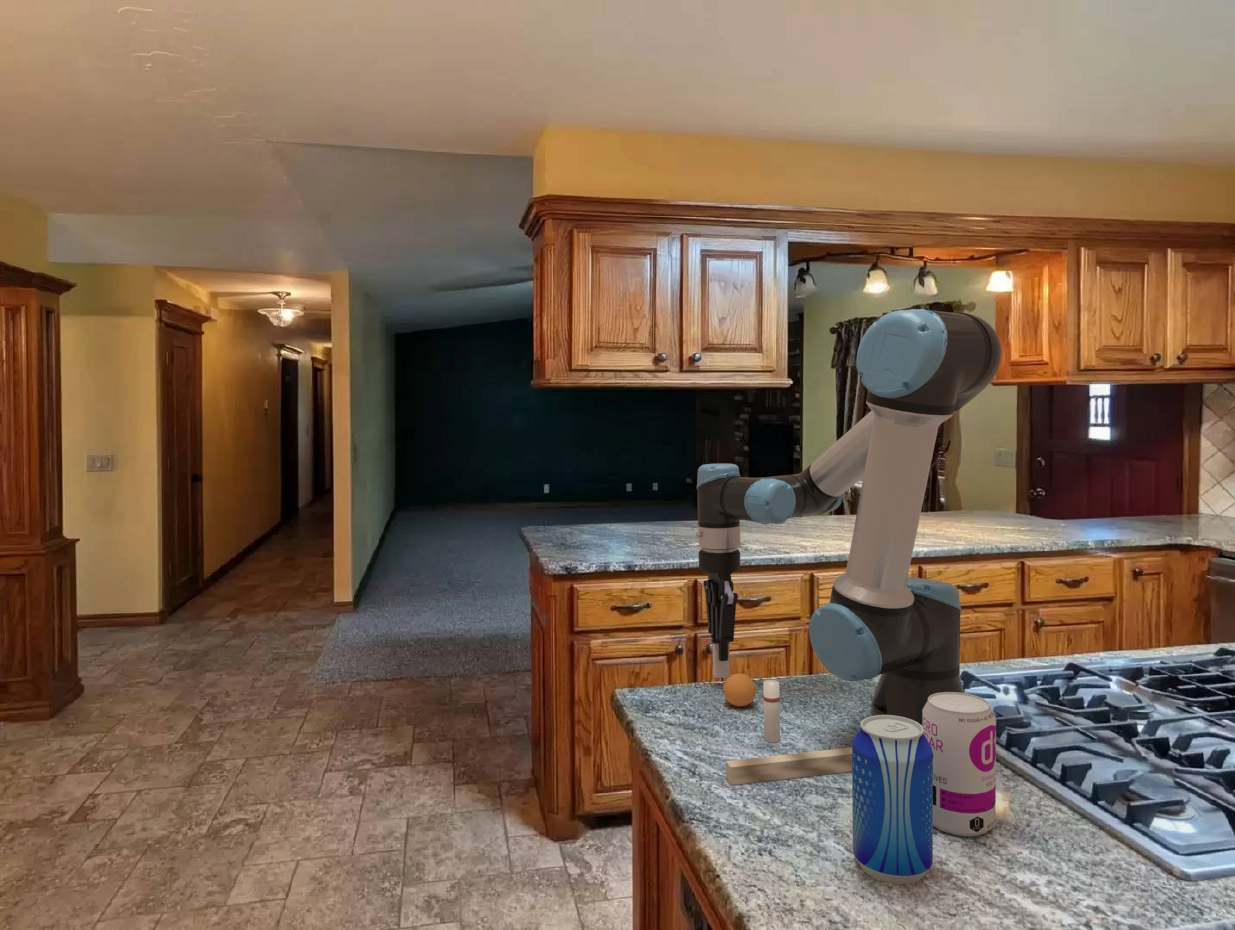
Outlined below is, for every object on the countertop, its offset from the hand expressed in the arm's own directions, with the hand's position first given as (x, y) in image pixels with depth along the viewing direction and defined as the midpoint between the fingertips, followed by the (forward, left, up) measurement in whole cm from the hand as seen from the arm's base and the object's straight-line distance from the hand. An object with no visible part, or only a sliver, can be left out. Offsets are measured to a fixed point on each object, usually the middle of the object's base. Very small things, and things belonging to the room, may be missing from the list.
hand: (721, 676), depth 151 cm
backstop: (-26, +26, -2) cm, 37 cm away
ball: (-7, +7, +1) cm, 10 cm away
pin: (-18, +18, -2) cm, 25 cm away
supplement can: (-47, +29, -2) cm, 55 cm away
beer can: (-43, +43, -2) cm, 61 cm away
